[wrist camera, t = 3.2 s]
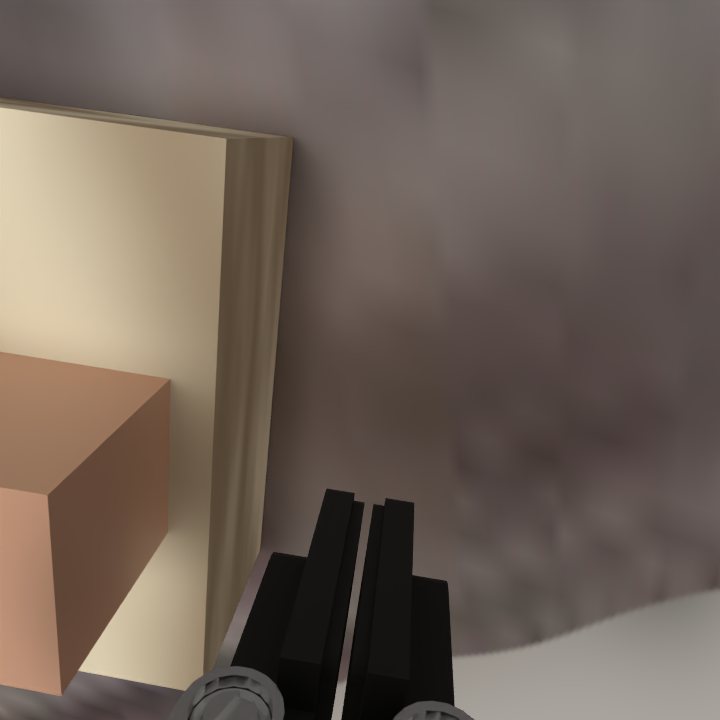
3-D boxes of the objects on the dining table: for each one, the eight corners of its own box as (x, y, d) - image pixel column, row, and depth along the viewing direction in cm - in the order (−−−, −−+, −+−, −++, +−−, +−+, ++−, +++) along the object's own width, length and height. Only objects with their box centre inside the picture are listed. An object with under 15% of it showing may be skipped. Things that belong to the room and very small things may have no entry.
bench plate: (293, 137, 17) (226, 138, 11) (260, 550, 22) (201, 693, 16) (-183, 71, 17) (-470, 42, 12) (-110, 485, 22) (-287, 601, 17)
